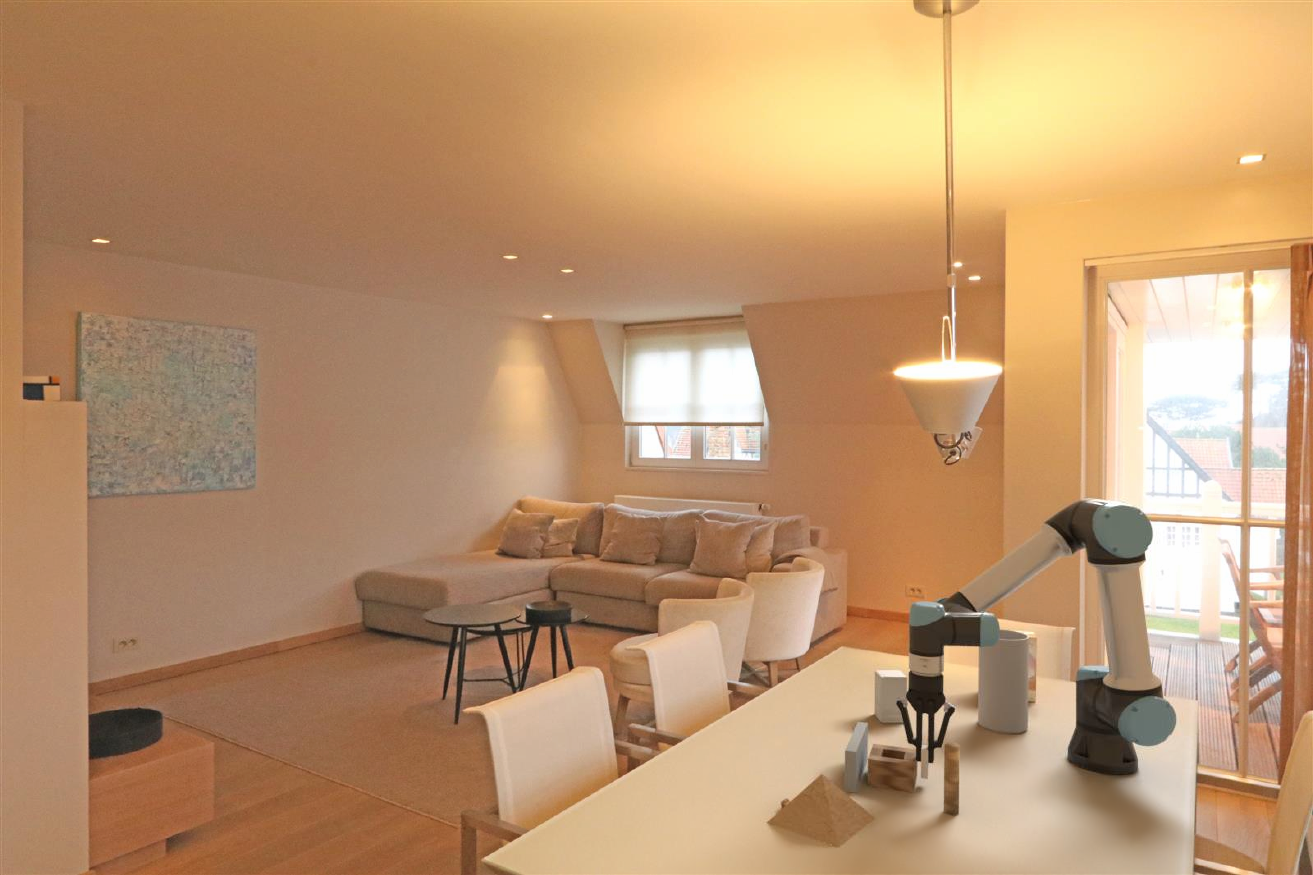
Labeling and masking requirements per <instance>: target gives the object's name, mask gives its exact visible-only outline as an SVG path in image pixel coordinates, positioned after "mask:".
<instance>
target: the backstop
mask: <svg viewBox="0 0 1313 875" xmlns="http://www.w3.org/2000/svg"><path fill="white" fill-rule="evenodd" d="M868 729H869V723H868V722H862V721H857V722H856V726H855V727H854V730H853V731H852V734H851V736H850V738H849V741H848V742H847V744H846V747H845V749H844V791H845V792H848V793H855V794H856V793H857V790H858V787H859V784H860V782H861V780H860V779H862V777H863V774H864V771H865V768H866V765H867V764H868V757H869V754H868V751H869V750H868V748H869V747H868V745H869V744H868V743H869V741H868V740H869V738H868V737H869V733H868V732H869V731H868Z"/></svg>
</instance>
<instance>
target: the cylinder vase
mask: <svg viewBox="0 0 1313 875" xmlns="http://www.w3.org/2000/svg"><path fill="white" fill-rule="evenodd" d="M1017 631H1018V630H1010V629H1001V628H1000V637H999V640H998V642H997V644H996V645H994V646H984V647H978V674H977V675H978V677H977V678H978V682H977V683H978V688H977V689H978V693H977V697H978V699H977V702H978V703H977V706H978V707H977V722H978V724H979V725H980V726H981V727H982V728H983V729H986V730H988V731H990V732H995V733H1000V734H1008V735H1010V734H1011V735H1014V734H1021V733H1024V732H1026V731H1027V730H1028V728H1029V701H1028V666H1029V636H1028V635H1026V634H1024V633H1021V632H1017Z"/></svg>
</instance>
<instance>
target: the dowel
mask: <svg viewBox="0 0 1313 875" xmlns="http://www.w3.org/2000/svg"><path fill="white" fill-rule="evenodd" d="M943 744H944V746H943V747H944V748H943V749H944V751H943V754H944V755H943V758H944V759H943V760H944V761H943V762H944V763H943V812H944V813H945V814H946V815H951V816H956V815H959V814H960V744H957V743H955V742H946V743H943Z"/></svg>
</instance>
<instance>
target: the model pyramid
mask: <svg viewBox="0 0 1313 875" xmlns="http://www.w3.org/2000/svg"><path fill="white" fill-rule="evenodd" d="M780 806H781V807H780V808H781V809H780V810H779V811H778V812H777V813H776V814H775V815H774V816H772V817H771V818H770V819H768V821H767V822H766V823H767V824H769V825H772V826H775V827H779V828H781V829H783V830H786V829H787V831H789V830H790V832H793V833H795V834H798V833H799V834H798V835H801V836H803V837H807V838H809V839H812V838H813V840H815V839H816V841H818V840H819V841H818V842H822V843H824V842H825V844H827V843H828V844H827V845H830V844H832V845H833V846H832V845H831V846H832V847H835V846H836V847H835V848H838V847H839V848H840V847H841V845H842V846H843V845H844V844H846V842H848V841H849V840H850V839H851V838H853V837H854V836H855V835H857V833H858V834H859V833H860V831H862V829H864V828H865V827H867V826H868V825H869V824H870V823H871V822H873V821H874V820H875V819H876V818H875V817H874V816H873V815H872V814H871V813H870V812H868V811H867V810H866V809H865V808H863V806H861V805H860V804H859V803H857V802H856V801H855V800H854V799H853V798H851V797H850V796H849V795H848V794H847V793H846V792H844V790H842V789H841V788H839V787H838V786H837V785H836V784H835V783H834V782H832V781H831V780H830V779H829V778H828V777H826V776H825V775H824V774H823V773H821V774H820V775H819V776H818V777H816V778H815V779H814V780H813V781H812V782H811V783H810V784H808V785H807V786H806V787H805V788H804V789H803V790H801V792H799V794H797V795H796V796H795V797H794V798H792V800H789V798H784V799H783V800H781V801H780ZM873 819H874V820H873ZM872 820H873V821H872ZM867 824H868V825H867Z"/></svg>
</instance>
